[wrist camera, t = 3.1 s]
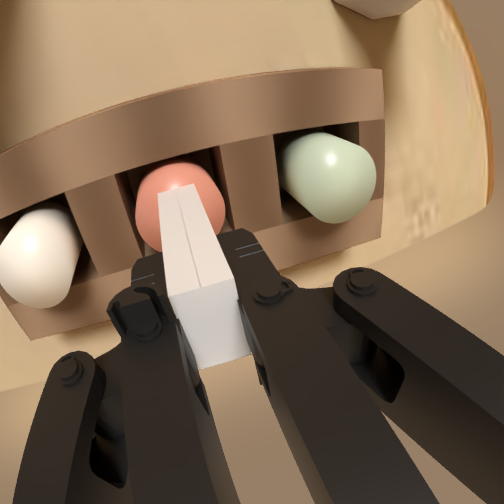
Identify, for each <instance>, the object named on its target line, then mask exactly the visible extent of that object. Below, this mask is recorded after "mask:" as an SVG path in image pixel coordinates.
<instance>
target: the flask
mask: <svg viewBox="0 0 504 504" xmlns="http://www.w3.org/2000/svg"><path fill="white" fill-rule="evenodd" d="M334 1H335V2H337V3H339V4H341V5H343V6H345V7H347V8H350V9H352V10H354V11H356V12H358V13H360V14H362V15H364V16H366V17H368V18H370V19H372V20H374V19H379V18H384V17H390V16H395V15H401V14H403V13H405V12H406V11H407V10H409V9H410V8H411V7H413V6H414V5H415V4H417V3H418V2H419V1H421V0H334Z"/></svg>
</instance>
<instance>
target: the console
mask: <svg viewBox="0 0 504 504" xmlns="http://www.w3.org/2000/svg"><path fill="white" fill-rule="evenodd" d="M302 129H317V130H320V131H323V132H325V133H328V134H331V135H333V136H336V137H338V138H341V139H344V140H346V141H349V142H351V143H354V144H356V145H358V146H360V147H362V148H364V149H365V150H366V151H367V152H368V153H369V154H370V156H371V158H372V159H373V162H374V164H375V168H376V184H375V189H374V192H373V194H372V197H371V199H370V201H369V202H368V204H367V205H366V206H365V208H364V209H363V210H362V211H361V212H360V213H359V214H357V215H356V216H355V217H353V218H352V219H350V220H348V221H345V222H342V223H335V224H333V223H326V222H323V221H321V220H319V219H317V218H316V217H315V216H314V215H313V214H311V213H310V212H309V211H308V210H307V209H306V208H305V207H304V206H303V205H301V204H300V203H299V202H298V201H297V200H296V199H295V198H293V197H292V196H291V195H290V194H289V193H288V192H287V191H285V190H284V189H283V188H282V187H281V185H280V184H279V182H278V174H277V166H276V153H277V151H278V149H279V147H280V145H281V144H282V143H283V141H284V140H285V139H286V138H287V137H288V136H290V135H291V134H292V133H294V132H296V131H299V130H302ZM181 154H186V155H189V156H191V157H193V158H195V159H197V160H198V161H199V162H200V163H201V164H202V165H203V166H204V167H205V169H206V170H207V172H208V174H209V175H210V177H211V178H212V180H213V182H214V183H215V185H216V187H217V188H218V190H219V191H220V193H221V195H222V197H223V200H224V204H225V219H224V223H223V226H222V228H221V230H220V232H219V234H222V233H225V232H229V231H233V230H236V229H240V228H243V229H245V230H247V231H249V232H251V233H253V234H254V236H255V237H256V239H257V240H258V242H259V243H260V245H261V246H262V248H263V250H264V251H265V252H266V254H267V256H268V257H269V259H270V260H271V262H272V263H273V265H274V266H275V268H276V269H277V271H278V270H281V269H285V268H288V267H291V266H294V265H297V264H301V263H304V262H307V261H310V260H313V259H316V258H319V257H323V256H326V255H329V254H332V253H335V252H338V251H341V250H344V249H347V248H350V247H353V246H356V245H360V244H363V243H366V242H369V241H372V240H375V239H378V238H380V237H381V225H382V211H383V194H384V166H385V119H384V92H383V76H382V69H371V68H351V67H329V68H309V69H296V70H284V71H275V72H266V73H258V74H250V75H243V76H237V77H230V78H224V79H219V80H213V81H208V82H203V83H198V84H193V85H189V86H184V87H180V88H175V89H171V90H167V91H163V92H159V93H155V94H152V95H148V96H144V97H141V98H137V99H134V100H130V101H127V102H124V103H121V104H117V105H114V106H111V107H108V108H105V109H102V110H99V111H97V112H94V113H91V114H88V115H85V116H83V117H80V118H77V119H75V120H72V121H70V122H67V123H65V124H62V125H60V126H57V127H55V128H52V129H50V130H48V131H46V132H43V133H41V134H39V135H37V136H34V137H32V138H30V139H28V140H26V141H24V142H22V143H19V144H17V145H15V146H13V147H11V148H9V149H7V150H6V151H4V152H2V153H0V245H1V244H2V242H3V241H4V239H5V238H6V237H7V235H8V234H9V232H10V231H11V230H12V228H13V227H14V226H15V224H16V223H17V222H18V220H19V219H20V218H21V216H22V215H23V214H24V213H25V211H26V210H27V209H28V208H29V207H31V206H32V205H34V204H36V203H39V202H44V201H50V202H56V203H59V204H61V205H63V206H65V207H66V208H68V209H69V210H70V211H71V212H72V213H73V216H74V218H75V221H76V223H77V226H78V228H79V231H80V233H81V235H82V238H83V244H82V248H81V251H80V255H79V258H78V261H77V264H76V268H75V271H74V274H73V278H72V282H71V285H70V289H69V292H68V294H67V295H66V297H65V298H64V299H63V300H62V301H61V302H60V303H59V304H57V305H55V306H53V307H50V308H43V309H39V308H32V307H28V306H26V305H23V304H21V303H19V302H18V301H16V300H15V299H13V298H12V297H11V296H10V295H9V294H8V293H7V292H6V291H5V289H4V288H3V287H2V285H1V283H0V296H1V298H2V300H3V301H4V303H5V304H6V306H7V307H8V309H9V310H10V312H11V313H12V315H13V316H14V318H15V319H16V321H17V322H18V324H19V325H20V326H21V328H22V329H23V331H24V332H25V333H26V335H27V336H28V338H29V339H30V340H35V339H39V338H43V337H47V336H51V335H55V334H59V333H62V332H66V331H70V330H74V329H78V328H81V327H85V326H89V325H93V324H96V323H100V322H104V321H107V320H111V319H110V317H109V316H108V314H107V312H106V310H107V307H108V304H109V302H110V301H111V300H112V298H113V297H114V296H115V295H116V294H118V293H119V292H120V291H122V290H123V289H125V288H127V287H130V286H131V269H132V268H133V266H134V264H135V263H136V261H137V259H139V258H143V257H146V256H149V255H153V254H156V253H160V252H159V251H157V250H155V249H153V248H152V247H150V246H149V245H148V244H147V243H146V242H145V241H144V240H143V238H142V237H141V235H140V233H139V231H138V229H137V225H136V219H135V214H136V201H137V191H138V183H139V179H140V176H141V174H142V172H143V171H144V169H145V168H146V167H147V166H148V164H150V163H153V162H156V161H159V160H163V159H167V158H170V157H174V156H178V155H181Z"/></svg>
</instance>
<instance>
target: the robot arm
mask: <svg viewBox="0 0 504 504" xmlns="http://www.w3.org/2000/svg"><path fill="white" fill-rule="evenodd" d="M158 207H159V219H160V231H161V241H162V251H163V252H160V253H156V254H153V255H149V256H146V257H143V258H139V259H137V261H136V263H135V264H134V266H133V268H132V269H131V286H130V287H127V288H125V289H123V290H122V291H120V292H119V293H118V294H116V295H115V296H114V297H113V298H112V300H111V301H110V302H109V304H108V307H107V310H106V312H107V314H108V316H109V317H110V319H111V321H112V323H113V324H114V326H115V328H116V329H117V331H118V333H119V335H120V336H121V343H119V344H118V345H117V346H116V347H115V348H113V349H112V350H110V351H108V352H107V353H105V354H103V355H101V356H99V357H97V358H96V359H94V358H93V357H92V356H91V355H89V354H88V353H87V352H83V351H75V352H70V353H68V354H66V355H65V356H63V357H61V358H60V359H59V360H58V361H57V362H56V363H55V364H54V366H53V368H52V369H51V371H50V373H49V376H48V378H47V381H46V384H45V387H44V389H43V392H42V395H41V398H40V401H39V404H38V407H37V410H36V413H35V416H34V419H33V422H32V426H31V429H30V432H29V435H28V439H27V443H26V446H25V450H24V454H23V458H22V461H21V465H20V470H19V474H18V478H17V484H16V488H15V493H14V498H13V504H240V501H239V498H238V495H237V492H236V490H235V487H234V484H233V481H232V478H231V475H230V471H229V468H228V465H227V462H226V459H225V456H224V453H223V450H222V446H221V443H220V439H219V436H218V433H217V430H216V426H215V422H214V419H213V415H212V412H211V408H210V405H209V401H208V397H207V394H206V390H205V386H204V384H203V382H202V380H201V378H200V376H199V372H198V368H199V370H202V369H205V368H209V367H212V366H215V365H219V364H222V363H226V362H229V361H232V360H235V359H239V358H242V357H245V356H248V355H251V352H252V354H253V356H254V360H255V364H256V369H257V373H258V377H259V381H260V385H262V384H263V386H264V389H265V391H266V393H267V396H268V398H269V401H270V403H271V405H272V408H273V410H274V413H275V415H276V417H277V419H278V422H279V424H280V427H281V429H282V431H283V434H284V436H285V438H286V440H287V443H288V445H289V447H290V450H291V452H292V454H293V456H294V459H295V461H296V463H297V465H298V467H299V470H300V472H301V474H302V476H303V479H304V481H305V483H306V485H307V487H308V489H309V492H310V494H311V496H312V498H313V500H314V502H315V504H439V502H438V501H437V499H436V497H435V496H434V494H433V492H432V491H431V489H430V488H429V486H428V484H427V483H426V481H425V480H424V478H423V476H422V475H421V473H420V472H419V470H418V469H417V467H416V465H415V464H414V462H413V461H412V459H411V458H410V456H409V454H408V453H407V451H406V450H405V448H404V446H403V445H402V443H401V442H400V440H399V439H398V437H397V436H396V434H395V432H394V431H393V430H392V428H391V426H390V425H389V423H388V422H387V420H386V419H385V417H384V415H383V414H382V413H381V411H382V412H383V413H384V414H385V415H386V416H388V418H390V419H391V420H392V421H393V422H394V423H395V424H396V425H397V426H399V427H400V428H401V429H402V430H403V431H404V432H405V433H406V434H408V436H409V437H411V438H412V439H413V440H414V441H415V442H416V443H417V444H418V445H420V446H421V447H422V448H423V449H424V450H425V451H426V452H428V453H429V454H430V455H431V456H432V457H433V458H435V460H437V461H438V462H439V463H440V464H441V465H442V466H444V467H445V468H446V469H447V470H448V471H449V472H450V473H452V474H453V475H454V476H455V477H456V478H457V479H458V480H459V481H461V482H462V483H463V484H464V485H465V486H466V487H468V488H469V489H470V490H471V491H472V492H474V493H475V494H476V495H477V496H478V497H479V498H481V499H482V500H483V501H484V502H485V503H487V504H504V356H503V355H502V354H500V353H499V352H498V351H496V350H495V349H493V348H492V347H491V346H489V345H488V344H486V343H485V342H483V341H482V340H481V339H479V338H478V337H476V336H475V335H474V334H472V333H471V332H469V331H468V330H466V329H465V328H464V327H462V326H461V325H459V324H458V323H456V322H455V321H453V320H452V319H450V318H449V317H447V316H446V315H444V314H443V313H442V312H440V311H438V310H437V309H435V308H434V307H433V306H431V305H430V304H428V303H427V302H425V301H423V300H422V299H420V298H419V297H417V296H416V295H414V294H413V293H411V292H410V291H408V290H407V289H405V288H403V287H402V286H400V285H399V284H397V283H395V282H394V281H393V280H391V279H389V278H388V277H386V276H385V275H383V274H381V273H380V272H377V271H375V270H373V269H369V268H363V267H358V268H350V269H347V270H345V271H342V272H341V273H340V274H339V275H337V276H336V278H335V280H334V283H333V287H327V288H316V289H305V288H299V287H298V286H297V285H296V284H295V283H294V282H293V281H291V280H290V279H287V278H285V277H282V276H281V275H280V274H279V272H278V271H277V269H276V268H275V266H274V265H273V263H272V262H271V260H270V259H269V257H268V256H267V254H266V252H265V251H264V250H263V248H262V246H261V245H260V243H259V242H258V240H257V239H256V237H255V236H254V234H253V233H251V232H249V231H247V230H245V229H243V228H240V229H236V230H233V231H229V232H225V233H222V234H218V235H215V233H214V230H213V228H212V226H211V223H210V221H209V219H208V216H207V214H206V212H205V209H204V207H203V205H202V202H201V200H200V197H199V195H198V193H197V190H196V188H195V185H194V184H190V185H186V186H183V187H179V188H175V189H172V190H168V191H165V192H161V193H158ZM197 366H198V368H197ZM380 410H381V411H380Z"/></svg>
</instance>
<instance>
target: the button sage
mask: <svg viewBox="0 0 504 504" xmlns="http://www.w3.org/2000/svg"><path fill="white" fill-rule="evenodd" d="M276 166H277V174H278V182H279V184H280V185H281V187H282V188H283V189H284V190H285V191H287V192H288V193H289V194H290V195H291V196H292V197H293V198H295V199H296V200H297V201H298V202H299V203H300V204H301V205H303V206H304V207H305V208H306V209H307V210H308V211H309V212H310V213H311V214H313V215H314V216H315V217H316V218H317V219H319V220H321V221H323V222H326V223H333V224H335V223H342V222H345V221H348V220H350V219H352V218H353V217H355V216H356V215H357V214H359V213H360V212H361V211H362V210H363V209H364V208H365V206H366V205H367V204H368V202H369V201H370V199H371V197H372V194H373V192H374V189H375V184H376V168H375V164H374V162H373V159H372V158H371V156H370V154H369V153H368V152H367V151H366V150H365V149H364V148H362V147H360V146H358V145H356V144H354V143H351V142H349V141H346V140H344V139H341V138H338V137H336V136H333V135H331V134H328V133H325V132H323V131H320V130H317V129H302V130H299V131H296V132H294V133H292V134H291V135H290V136H288V137H287V138H286V139H285V140H284V141H283V143H282V144H281V145H280V147H279V149H278V151H277V153H276Z"/></svg>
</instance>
